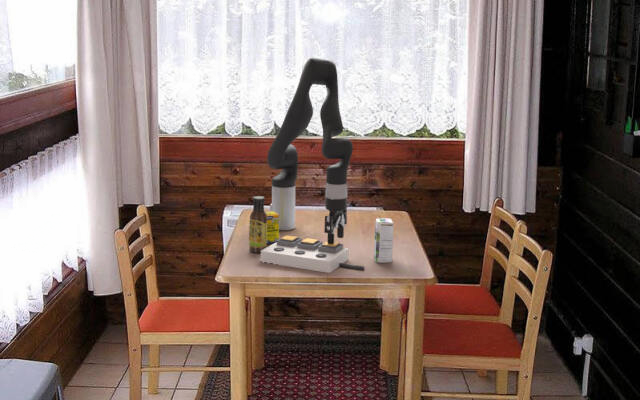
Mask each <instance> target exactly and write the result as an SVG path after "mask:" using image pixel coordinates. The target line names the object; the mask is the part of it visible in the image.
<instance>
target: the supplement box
mask: <svg viewBox="0 0 640 400" xmlns="http://www.w3.org/2000/svg"><path fill="white" fill-rule="evenodd" d="M265 213H266V215H267V245H269V244H270V243H271V244H274V243H276V242H277V240H279V239H280V230H279V214H277V213H275V212H273V211H271V212H270V211H265ZM271 244H270V245H271Z"/></svg>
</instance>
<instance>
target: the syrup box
mask: <svg viewBox="0 0 640 400" xmlns="http://www.w3.org/2000/svg"><path fill="white" fill-rule="evenodd" d="M394 224H395V223H394V222H393V220H392V219H391V218H386V217H385V218H384V217H380V218H375V226H374V239H373V240H374V245H373V250H374V251H373V259H374V261H375V263H377V264H378V263H382V264H383V263H392V262H393V248H394V247H393V243H394V241H393V240H394Z"/></svg>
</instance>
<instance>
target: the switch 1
mask: <svg viewBox="0 0 640 400" xmlns="http://www.w3.org/2000/svg"><path fill="white" fill-rule="evenodd" d="M284 236H285V237H284ZM284 236H283V238H282V237H281V238H279V239H280V241H286V242H295V241H297V240H298V238H299V237H298V236H292V235H284Z"/></svg>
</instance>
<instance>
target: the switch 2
mask: <svg viewBox="0 0 640 400" xmlns="http://www.w3.org/2000/svg"><path fill="white" fill-rule="evenodd" d="M304 239H305V240H304ZM304 239H302V241H301V244H306V245H313V246H314V245H316V244H317V243H319V241H320V240H319V239H314V238H309V237H308V238H304Z"/></svg>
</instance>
